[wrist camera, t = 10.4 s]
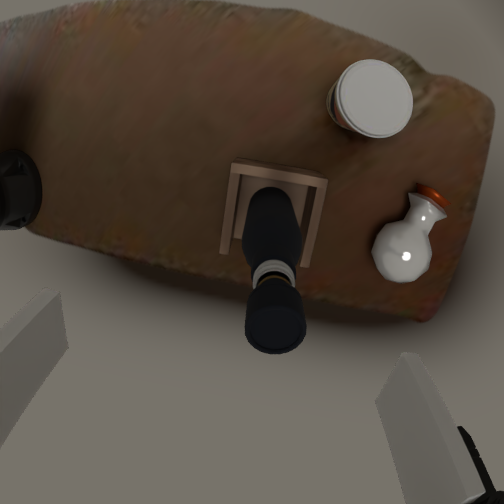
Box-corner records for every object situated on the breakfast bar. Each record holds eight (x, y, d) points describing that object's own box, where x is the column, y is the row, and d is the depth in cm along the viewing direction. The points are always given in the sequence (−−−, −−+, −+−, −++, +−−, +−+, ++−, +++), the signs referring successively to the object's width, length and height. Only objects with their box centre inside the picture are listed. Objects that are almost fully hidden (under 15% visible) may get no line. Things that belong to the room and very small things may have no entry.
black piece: (301, 207, 47) (347, 330, 19) (270, 236, 49) (274, 383, 21) (270, 177, 46) (276, 265, 18) (239, 208, 48) (202, 330, 20)
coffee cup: (307, 93, 42) (321, 81, 30) (359, 63, 39) (387, 45, 28) (342, 146, 44) (367, 153, 33) (392, 116, 42) (428, 115, 31)
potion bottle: (364, 262, 52) (408, 186, 49) (411, 294, 48) (457, 215, 44) (353, 261, 44) (405, 170, 41) (409, 299, 40) (463, 204, 36)
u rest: (226, 235, 50) (219, 253, 43) (237, 157, 45) (231, 162, 38) (302, 247, 50) (308, 267, 43) (318, 171, 46) (328, 179, 39)
